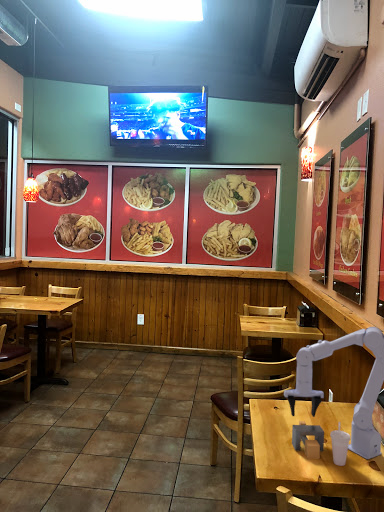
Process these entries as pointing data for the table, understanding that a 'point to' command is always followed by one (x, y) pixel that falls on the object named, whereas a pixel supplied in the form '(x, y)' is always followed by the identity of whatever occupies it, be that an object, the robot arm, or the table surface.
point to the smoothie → (339, 446)
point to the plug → (310, 445)
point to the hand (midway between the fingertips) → (302, 415)
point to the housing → (307, 431)
